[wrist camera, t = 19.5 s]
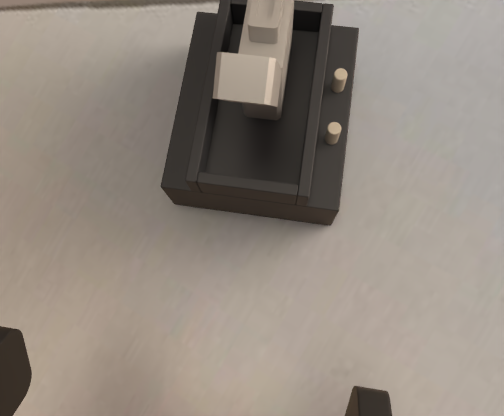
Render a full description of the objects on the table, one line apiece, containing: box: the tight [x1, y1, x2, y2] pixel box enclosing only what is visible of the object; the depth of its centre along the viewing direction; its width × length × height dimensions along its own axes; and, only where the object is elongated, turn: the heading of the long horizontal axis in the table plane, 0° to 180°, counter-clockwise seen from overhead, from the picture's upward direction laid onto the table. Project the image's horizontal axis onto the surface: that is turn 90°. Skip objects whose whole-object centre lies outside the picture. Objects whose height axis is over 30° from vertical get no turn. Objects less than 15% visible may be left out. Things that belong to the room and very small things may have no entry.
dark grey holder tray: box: [161, 0, 359, 225], centre depth 23 cm, size 8×9×4 cm
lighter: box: [213, 0, 294, 120], centre depth 18 cm, size 7×2×8 cm, turn 171°
